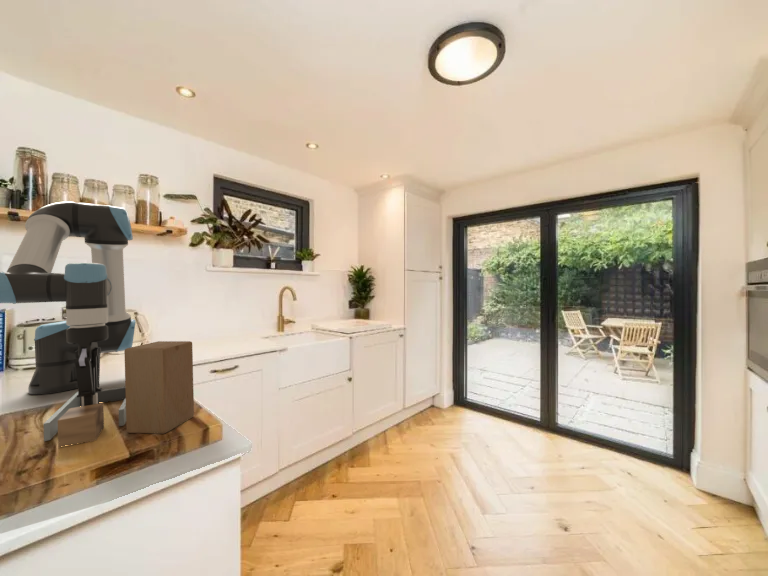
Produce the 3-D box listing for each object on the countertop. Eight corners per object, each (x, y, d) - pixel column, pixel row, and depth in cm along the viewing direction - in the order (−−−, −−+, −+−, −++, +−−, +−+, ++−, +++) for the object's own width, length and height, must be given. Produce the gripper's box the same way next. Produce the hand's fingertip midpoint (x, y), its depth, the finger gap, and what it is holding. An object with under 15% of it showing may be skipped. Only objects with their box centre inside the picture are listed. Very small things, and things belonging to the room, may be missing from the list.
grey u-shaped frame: (77, 405, 92) (77, 391, 92) (137, 395, 100) (137, 382, 100) (43, 441, 70) (43, 423, 70) (124, 425, 78) (123, 409, 78)
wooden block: (195, 416, 82) (193, 341, 82) (164, 434, 72) (162, 348, 72) (160, 415, 83) (158, 341, 83) (125, 433, 73) (123, 348, 73)
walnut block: (70, 433, 74) (69, 408, 74) (103, 427, 77) (103, 402, 77) (58, 448, 67) (57, 420, 67) (95, 440, 70) (95, 413, 70)
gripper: (74, 324, 80) (77, 415, 81) (57, 329, 70) (60, 435, 70) (112, 322, 85) (115, 408, 85) (102, 326, 74) (104, 426, 74)
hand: (90, 420), depth 77 cm, fingers closed
